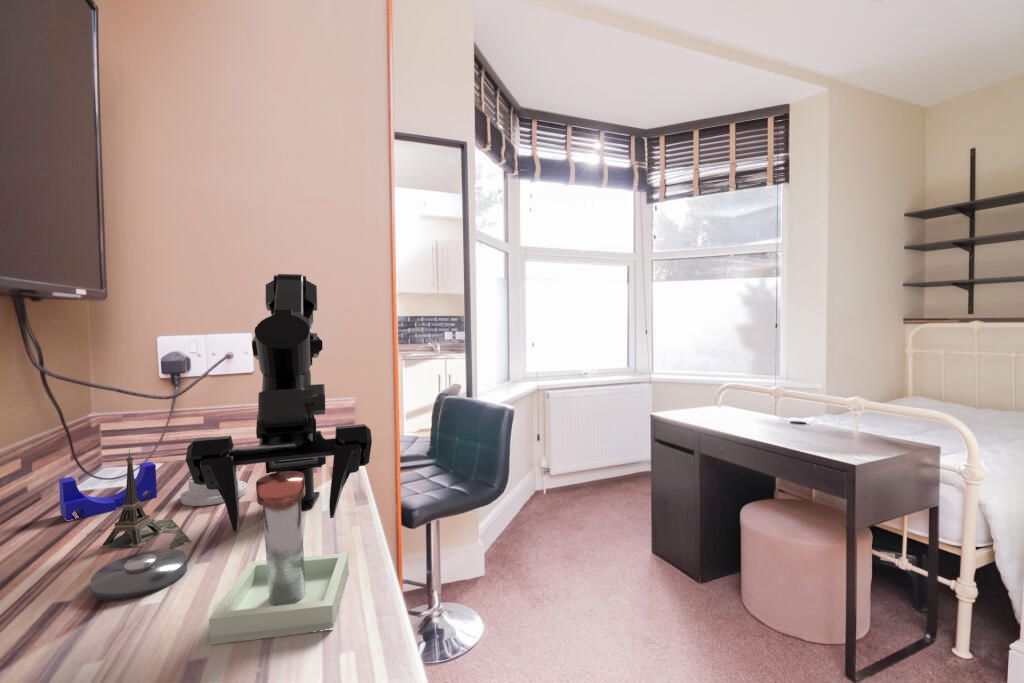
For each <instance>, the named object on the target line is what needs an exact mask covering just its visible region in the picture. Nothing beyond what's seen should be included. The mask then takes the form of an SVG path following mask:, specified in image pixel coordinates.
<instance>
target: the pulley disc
mask: <svg viewBox="0 0 1024 683" xmlns="http://www.w3.org/2000/svg"><path fill="white" fill-rule="evenodd" d="M187 572H188V555H187V553H186V552H185V551H183V550H180V549H171V548H167V549H166V548H164V549H154V550H148V551H144V552H138V553H134V554H132V555H129V556H125V557H123V558H120V559H117V560H115V561H112V562H110V563H109V564H107V565H105V566H103V567H101V568H100V569H98V570H97V571H96V572H95V573H94V574H92V576H91V578H90V593H91V597H92V598H93V599H94V600H96V601H101V602H120V601H126V600H127V601H128V600H133V599H137V598H140V597H144V596H147V595H151V594H153V593H155V592H156V593H157V592H158V591H160V590H163V589H165V588H168V587H170V586H171V585H173V584H174V583H176V582H177V581H179V580H180V579H182V578H183V577H184V576H185V574H186V573H187Z"/></svg>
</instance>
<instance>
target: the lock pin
mask: <svg viewBox="0 0 1024 683" xmlns="http://www.w3.org/2000/svg"><path fill="white" fill-rule="evenodd" d="M255 489H256V501H257V504H258V505H259V506H262V510H263V512H262V513H263V523H264V524H263V528H264V540H265V541H264V542H265V544H264V546H265V558H266V560H265V561H267V577H268V593H269V603H270V604H271V605H273V606H280V605H289V604H293V603H295V602H297V601H299V600H300V599H302V598H303V597H304V595H305V593H306V586H305V568H304V557H305V555H304V554H305V552H304V535H303V518H302V516H303V514H302V509H301V498H303V497H304V496H305V478H304V474H303V473H302V472H298V471H283V472H277V473H276V472H272V473H268V474H266V475H264V476H262V477H260V478H258V479H257V480H256V482H255Z"/></svg>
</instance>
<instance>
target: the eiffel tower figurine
mask: <svg viewBox="0 0 1024 683" xmlns="http://www.w3.org/2000/svg"><path fill="white" fill-rule="evenodd" d="M128 454H129V455H128V457H126V464H127V465H126V466H127V467H126V471H127V472H126V488H125V489H126V496H125V502H124V505H122V506H121V507H122V511H121V514H120V516H119V519H118V521H116V522H114V527H115V528H114V529H112V530H111V532H110V533H109V534H108V536H107V538H106V539H105V540H104V542H103V543H102V544H101V546H99V549H123V548H124V549H127V548H128V549H129V548H136V549H137V548H141V547H142V546H144V545H145V544H146V543H148V542H149V541H151V540H153V539H154V538H156V537H157V536H159V535H163V534H174V535H175V534H177V535H178V537H177V538H176V539H175V540H173V541H172V542H170V543H169V545H168V546H172V547H175V548H177V547H181V546H183V545H186V544H190V543H192V540H191V539H190V538H189V537H188V536H187V534H185V532H184V531H183V530H182V529H181V528H180V526H179V525H178V524H177V523H176V522H175V521H174V520H173V519H169V518H168V519H166V518H165V519H153V520H152V519H150V514H146V513H145V511H144V509H143V507H142V505H141V502H142V501H139V499H138V496H137V491H136V486H135V474H134V467H133V462H134V457H133V456H132V455H131V450H130V448H129V449H128ZM105 529H106V528H103V529H99V530H95V531H90V532H88V533H89V534H90V533H92V534H91V535H95V534H98V533H102V532H101V531H103V530H105ZM96 532H97V533H96ZM103 532H104V531H103ZM121 532H122V534H120V533H121ZM94 533H95V534H94ZM119 534H120V535H119ZM118 535H119V536H118Z"/></svg>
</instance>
